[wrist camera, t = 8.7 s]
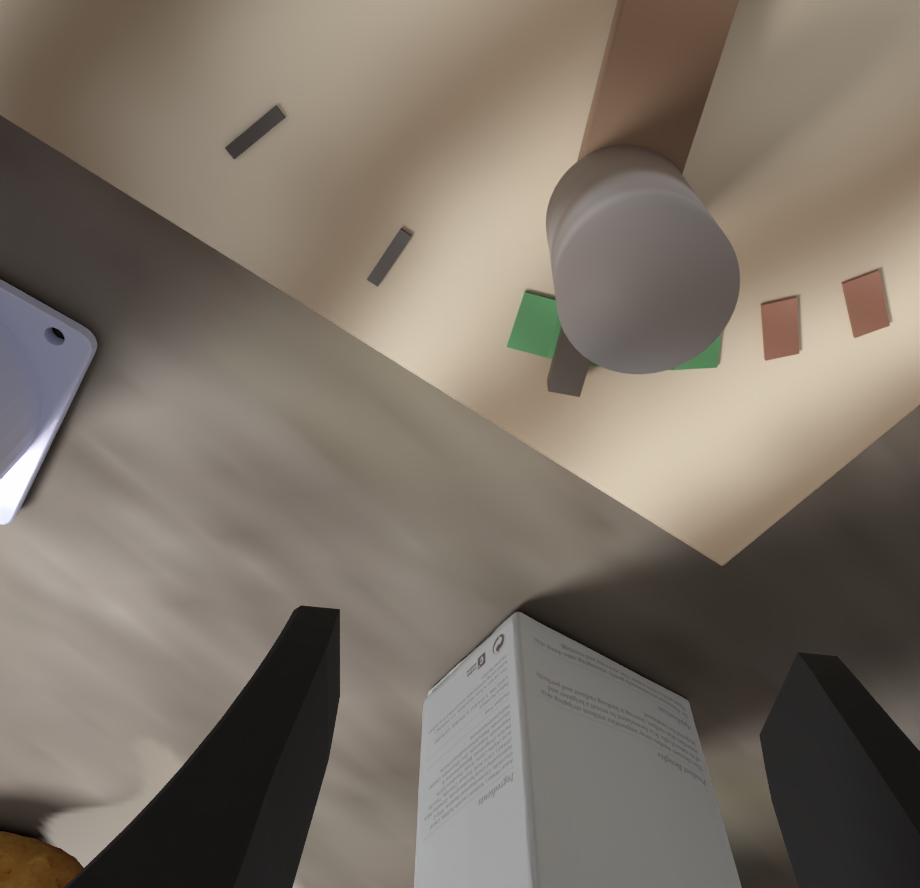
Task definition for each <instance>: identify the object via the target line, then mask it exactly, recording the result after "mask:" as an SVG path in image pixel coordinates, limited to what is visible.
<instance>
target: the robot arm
mask: <svg viewBox="0 0 920 888" xmlns="http://www.w3.org/2000/svg"><path fill="white" fill-rule="evenodd" d="M52 327H53V328H56V329H58V330H60V331H61V332H62V333H63V335H64V337H65V339H62V338H58V337H57V336H56V335H55V334H54V333H53V331H52ZM96 350H97V341H96V338H95V336H94V335H93V334H92V332H91V331H89V330H88V329H87V328H86V327H84V326H82V325H80V324H79V323H77V322H75V321H73V320H72V319H70V318H68V317H66V316H65V315H63V314H61V313H59V312H58V311H56V310H54V309H52V308H50V307H49V306H47V305H45V304H43V303H42V302H40V301H38V300H36V299H35V298H33V297H31V296H29V295H27V294H26V293H24V292H22V291H20V290H19V289H17V288H15V287H13V286H12V285H10V284H8V283H6V282H4V281H3V280H1V279H0V524H8V523H10V522H11V521H12V520H13V519H14V518H15V517H16V516H17V514H18V513H19V511H20V509H21V507H22V504H23V502H24V500H25V498H26V496H27V494H28V492H29V490H30V488H31V486H32V484H33V482H34V479H35V477H36V475H37V473H38V471H39V469H40V467H41V465H42V463H43V461H44V459H45V457H46V455H47V452H48V450H49V448H50V446H51V444H52V442H53V440H54V438H55V436H56V434H57V432H58V430H59V427H60V425H61V423H62V421H63V419H64V417H65V415H66V413H67V411H68V409H69V407H70V405H71V402H72V400H73V398H74V396H75V394H76V392H77V390H78V388H79V386H80V384H81V382H82V380H83V377H84V375H85V373H86V371H87V369H88V367H89V365H90V363H91V361H92V359H93V357H94V355H95V352H96ZM339 698H340V609H331V608H321V607H310V606H300V607H298V608H297V609H295V610H294V611H293V613H292V615H291V616H290V618H289V620H288V622H287V624H286V625H285V627H284V629H283V630H282V632H281V634H280V635H279V637H278V639H277V640H276V642H275V643H274V645H273V646H272V648H271V650H270V651H269V653H268V654H267V656H266V657H265V659H264V660H263V662H262V663H261V665H260V666H259V667H258V669H257V670H256V672H255V673H254V675H253V676H252V678H251V679H250V680H249V682H248V683H247V685H246V686H245V687H244V689H243V690H242V691H241V693H240V694H239V695H238V697H237V698H236V699H235V701H234V702H233V704H232V705H231V706H230V708H229V709H228V710H227V712H226V713H225V714H224V716H223V717H222V718H221V720H220V721H219V722H218V723H217V725H216V726H215V727H214V728H213V730H212V731H211V732H210V733H209V734H208V736H207V737H206V738H205V739H204V741H203V742H202V743H201V744H200V745H199V747H198V748H197V749H196V750H195V751H194V753H193V754H192V755H191V756H190V758H189V759H188V760H187V761H186V762H185V764H184V765H183V766H182V767H181V768H180V769H179V771H178V772H177V773H176V774H175V775H174V776H173V778H172V779H171V780H170V781H169V782H168V783H167V784H166V785H165V786H164V788H163V789H162V790H161V791H160V792H159V793H158V794H157V795H156V796H155V798H154V799H153V800H152V801H151V802H150V803H149V804H148V805H147V806H146V807H145V808H144V809H143V810H142V811H141V812H140V813H139V814H138V815H137V817H136V818H135V819H134V820H133V821H132V822H131V823H130V824H129V825H128V826H127V827H126V828H125V829H124V830H123V831H122V832H121V833H120V834H119V835H118V836H117V837H116V838H115V839H114V840H113V841H112V842H111V843H110V844H109V845H108V846H107V847H106V848H105V849H104V850H102V851H101V852H100V853H99V854H98V855H97V856H96V857H95V858H94V859H93V860H92V861H91V862H90V863H89V864H88V865H87V866H86V867H85V868H84V869H83V870H82V871H81V872H80V873H79V874H77V875H76V876H75V877H74V878H73V879H72V880H71V881H70V882H69V883H68V884H67V885H66V886H64V887H63V888H292V887H293V883H294V880H295V876H296V873H297V869H298V866H299V862H300V859H301V855H302V852H303V848H304V845H305V841H306V838H307V834H308V831H309V827H310V824H311V820H312V817H313V813H314V810H315V806H316V802H317V799H318V795H319V792H320V788H321V785H322V781H323V778H324V774H325V770H326V767H327V763H328V760H329V754H330V749H331V743H332V738H333V732H334V727H335V721H336V715H337V709H338V703H339ZM760 740H761V746H762V752H763V758H764V763H765V769H766V774H767V779H768V784H769V789H770V794H771V799H772V803H773V806H774V809H775V813H776V816H777V819H778V822H779V826H780V829H781V832H782V835H783V838H784V842H785V845H786V848H787V851H788V854H789V857H790V861H791V864H792V867H793V870H794V873H795V876H796V879H797V882H798V885H799V888H920V751H919V750H918V749H917V748H916V747H915V745H914V744H913V743H912V742H911V741H910V740H909V739H908V737H907V736H906V735H905V734H904V733H903V732H902V731H901V729H900V728H899V727H898V726H897V725H896V724H895V722H894V721H893V720H892V719H891V718H890V717H889V716H888V714H887V713H886V712H885V711H884V710H883V709H882V707H881V706H880V705H879V704H878V703H877V702H876V700H875V699H874V698H873V697H872V696H871V695H870V693H869V692H868V691H867V690H866V689H865V688H864V686H863V685H862V684H861V683H860V682H859V681H858V680H857V678H856V677H855V676H854V675H853V674H852V673H851V672H850V670H849V669H848V668H847V667H846V666H845V665H844V664H843V662H842V661H841V660H840V659H839V658H838V657H837V656H828V655H818V654H807V653H798V654H797V656H796V658H795V660H794V663H793V665H792V667H791V669H790V671H789V673H788V675H787V678H786V680H785V682H784V684H783V686H782V688H781V690H780V693H779V695H778V697H777V699H776V701H775V703H774V705H773V707H772V710H771V712H770V714H769V716H768V718H767V720H766V722H765V725H764V727H763V729H762V731H761V733H760Z"/></svg>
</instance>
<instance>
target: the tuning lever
mask: <svg viewBox="0 0 920 888" xmlns="http://www.w3.org/2000/svg"><path fill="white" fill-rule="evenodd" d="M738 2H739V0H617V4H616V8H615V12H614V16H613V20H612V24H611V28H610V32H609V36H608V40H607V44H606V48H605V52H604V56H603V60H602V64H601V68H600V72H599V76H598V80H597V84H596V88H595V92H594V96H593V100H592V104H591V108H590V112H589V116H588V120H587V124H586V128H585V132H584V136H583V140H582V144H581V148H580V152H579V156H578V160H577V162H576V163H575V164H574V165H573V166H572V167H570V168H569V169H568V170H567V171H566V173H565V174H564V175H563V176H562V178H561V179H560V180H559V182H558V184H557V185H556V187H555V189H554V191H553V193H552V195H551V198H550V201H549V204H548V208H547V214H546V232H547V240H548V247H549V255H550V262H551V269H552V277H553V284H554V291H555V298H556V306H557V312H558V316H559V321H560V323H561V329H560V333H559V336H558V340H557V344H556V347H555V351H554V355H553V358H552V362H551V366H550V369H549V373H548V377H547V388H548V392H554V393H559V394H565V395H570V396H576V397H580V395H581V391H582V388H583V385H584V382H585V378H586V375H587V372H588V368H589V365H590V362H593V363H595V364H597V365H599V366H601V367H603V368H606V369H608V370H611V371H615V372H619V373H626V374H651V373H657V372H662V371H666V370H669V369H672V368H675V367H678V366H680V365H682V364H684V363H686V362H688V361H690V360H691V359H693V358H695V357H696V356H698V355H699V354H700V353H702V352H703V351H704V350H706V349H707V348H708V347H709V346H710V345H711V344H712V343H713V342H714V341H715V340H716V339H717V338H718V336H719V335H720V334H721V333H722V332H723V330H724V329H725V327H726V325H727V324H728V322H729V321H730V318H731V316H732V314H733V312H734V310H735V307H736V304H737V301H738V296H739V290H740V270H739V264H738V260H737V256H736V254H735V251H734V249H733V247H732V245H731V243H730V241H729V240H728V238H727V237H726V235H725V234H724V232H723V231H722V230H721V228H720V227H719V225H718V224H717V223H716V221H715V220H714V219H713V217H712V216H711V214H710V213H709V212H708V210H707V209H706V207H705V206H704V205H703V203H702V202H701V200H700V199H699V198H698V196H697V195H696V193H695V192H694V191H693V189H692V188H691V187H690V185H689V184H688V182H687V181H686V180H685V178H684V177H683V175H682V174H683V171H684V168H685V164H686V161H687V158H688V155H689V152H690V149H691V146H692V143H693V140H694V137H695V134H696V131H697V128H698V125H699V122H700V119H701V115H702V112H703V109H704V106H705V103H706V100H707V97H708V94H709V91H710V88H711V85H712V82H713V79H714V76H715V73H716V70H717V66H718V63H719V60H720V57H721V54H722V51H723V48H724V45H725V42H726V39H727V36H728V33H729V30H730V27H731V24H732V21H733V17H734V14H735V11H736V8H737V5H738Z"/></svg>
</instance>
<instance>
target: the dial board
mask: <svg viewBox="0 0 920 888" xmlns="http://www.w3.org/2000/svg"><path fill="white" fill-rule="evenodd" d="M616 4H617V0H0V115H1V116H3V117H4V118H6V119H7V120H9V121H11V122H12V123H14V124H15V125H17V126H19V127H20V128H22V129H23V130H25V131H27V132H28V133H30V134H31V135H33V136H35V137H36V138H38V139H39V140H41V141H43V142H44V143H46V144H47V145H49V146H51V147H52V148H54V149H55V150H57V151H59V152H60V153H62V154H63V155H65V156H67V157H68V158H70V159H71V160H73V161H75V162H76V163H78V164H79V165H81V166H83V167H84V168H86V169H87V170H89V171H91V172H92V173H94V174H95V175H97V176H99V177H100V178H102V179H103V180H105V181H107V182H108V183H110V184H111V185H113V186H115V187H116V188H118V189H119V190H121V191H123V192H124V193H126V194H127V195H129V196H131V197H132V198H134V199H135V200H137V201H139V202H140V203H142V204H143V205H145V206H147V207H148V208H150V209H151V210H153V211H155V212H156V213H158V214H159V215H161V216H163V217H164V218H166V219H167V220H169V221H171V222H172V223H174V224H175V225H177V226H179V227H180V228H182V229H183V230H185V231H187V232H188V233H190V234H191V235H193V236H195V237H196V238H198V239H199V240H201V241H203V242H204V243H206V244H207V245H209V246H211V247H212V248H214V249H215V250H217V251H219V252H220V253H222V254H223V255H225V256H227V257H228V258H230V259H231V260H233V261H235V262H236V263H238V264H239V265H241V266H243V267H244V268H246V269H247V270H249V271H251V272H252V273H254V274H255V275H257V276H259V277H260V278H262V279H263V280H265V281H267V282H268V283H270V284H271V285H273V286H275V287H276V288H278V289H279V290H281V291H283V292H284V293H286V294H287V295H289V296H291V297H292V298H294V299H295V300H297V301H299V302H300V303H302V304H303V305H305V306H307V307H308V308H310V309H311V310H313V311H315V312H316V313H318V314H319V315H321V316H323V317H324V318H326V319H327V320H329V321H331V322H332V323H334V324H335V325H337V326H339V327H340V328H342V329H343V330H345V331H347V332H348V333H350V334H351V335H353V336H355V337H356V338H358V339H359V340H361V341H363V342H364V343H366V344H367V345H369V346H371V347H372V348H374V349H375V350H377V351H379V352H380V353H382V354H383V355H385V356H387V357H388V358H390V359H391V360H393V361H395V362H396V363H398V364H399V365H401V366H403V367H404V368H406V369H407V370H409V371H411V372H412V373H414V374H415V375H417V376H419V377H420V378H422V379H423V380H425V381H427V382H428V383H430V384H431V385H433V386H435V387H436V388H438V389H439V390H441V391H443V392H444V393H446V394H447V395H449V396H451V397H452V398H454V399H455V400H457V401H459V402H460V403H462V404H463V405H465V406H467V407H468V408H470V409H472V410H473V411H475V412H476V413H478V414H480V415H481V416H483V417H484V418H486V419H488V420H489V421H491V422H492V423H494V424H496V425H497V426H499V427H500V428H502V429H504V430H505V431H507V432H508V433H510V434H512V435H513V436H515V437H516V438H518V439H520V440H521V441H523V442H524V443H526V444H528V445H529V446H531V447H532V448H534V449H536V450H537V451H539V452H540V453H542V454H544V455H545V456H547V457H548V458H550V459H552V460H553V461H555V462H556V463H558V464H560V465H561V466H563V467H564V468H566V469H568V470H569V471H571V472H572V473H574V474H576V475H577V476H579V477H580V478H582V479H584V480H585V481H587V482H588V483H590V484H592V485H593V486H595V487H596V488H598V489H600V490H601V491H603V492H604V493H606V494H608V495H609V496H611V497H612V498H614V499H616V500H617V501H619V502H620V503H622V504H624V505H625V506H627V507H628V508H630V509H632V510H633V511H635V512H636V513H638V514H640V515H641V516H643V517H644V518H646V519H648V520H649V521H651V522H652V523H654V524H656V525H657V526H659V527H660V528H662V529H664V530H665V531H667V532H668V533H670V534H672V535H673V536H675V537H676V538H678V539H680V540H681V541H683V542H684V543H686V544H688V545H689V546H691V547H692V548H694V549H696V550H697V551H699V552H700V553H702V554H704V555H705V556H707V557H708V558H710V559H712V560H713V561H715V562H716V563H718V564H720V565H721V566H723V565H724V564H726V563H727V562H728V561H729V560H731V559H732V558H733V557H734V556H735V555H737V554H738V553H739V552H740V551H741V550H743V549H744V548H745V547H746V546H748V545H749V544H750V543H751V542H752V541H754V540H755V539H756V538H757V537H759V536H760V535H761V534H762V533H763V532H765V531H766V530H767V529H768V528H770V527H771V526H772V525H773V524H774V523H776V522H777V521H778V520H779V519H780V518H782V517H783V516H784V515H785V514H787V513H788V512H789V511H790V510H791V509H793V508H794V507H795V506H796V505H798V504H799V503H800V502H801V501H802V500H804V499H805V498H806V497H807V496H808V495H810V494H811V493H812V492H813V491H815V490H816V489H817V488H818V487H819V486H821V485H822V484H823V483H824V482H826V481H827V480H828V479H829V478H830V477H832V476H833V475H834V474H835V473H837V472H838V471H839V470H840V469H841V468H843V467H844V466H845V465H846V464H847V463H849V462H850V461H851V460H852V459H854V458H855V457H856V456H857V455H858V454H860V453H861V452H862V451H863V450H865V449H866V448H867V447H868V446H869V445H871V444H872V443H873V442H874V441H875V440H877V439H878V438H879V437H880V436H882V435H883V434H884V433H885V432H886V431H888V430H889V429H890V428H891V427H893V426H894V425H895V424H896V423H897V422H899V421H900V420H901V419H902V418H904V417H905V416H906V415H907V414H908V413H910V412H911V411H912V410H913V409H914V408H916V407H917V406H918V405H919V404H920V0H739V2H738V5H737V8H736V11H735V14H734V17H733V21H732V24H731V27H730V30H729V33H728V36H727V39H726V42H725V45H724V48H723V51H722V54H721V57H720V60H719V63H718V66H717V70H716V73H715V76H714V79H713V82H712V85H711V88H710V91H709V94H708V97H707V100H706V103H705V106H704V109H703V112H702V115H701V119H700V122H699V125H698V128H697V131H696V134H695V137H694V140H693V143H692V146H691V149H690V152H689V155H688V158H687V161H686V164H685V168H684V171H683V174H682V175H683V177H684V178H685V180H686V181H687V182H688V184H689V185H690V187H691V188H692V189H693V191H694V192H695V193H696V195H697V196H698V198H699V199H700V200H701V202H702V203H703V205H704V206H705V207H706V209H707V210H708V212H709V213H710V214H711V216H712V217H713V219H714V220H715V221H716V223H717V224H718V225H719V227H720V228H721V230H722V231H723V232H724V234H725V235H726V237H727V238H728V240H729V241H730V243H731V245H732V247H733V249H734V251H735V254H736V256H737V260H738V264H739V270H740V290H739V296H738V301H737V304H736V307H735V310H734V312H733V314H732V316H731V318H730V321H729V322H728V324H727V325H726V327H725V329H724V330H723V332H722V333H721V334H720V335H719V336H718V338H717V339H716V340H715V341H714V342H713V343H712V344H711V345H710V346H709V347H708V348H707V349H706V350H704V351H703V352H702V353H700V354H699V355H698V356H696V357H695V358H693V359H691V360H690V361H688V362H686V363H684V364H682V365H680V366H678V367H675V368H672V369H669V370H666V371H662V372H657V373H651V374H626V373H619V372H615V371H611V370H608V369H606V368H603V367H601V366H599V365H597V364H595V363H593V362H590V365H589V368H588V372H587V375H586V378H585V382H584V385H583V388H582V391H581V395H580V397H576V396H570V395H565V394H559V393H554V392H548V388H547V377H548V373H549V369H550V366H551V362H552V358H553V355H554V351H555V347H556V344H557V340H558V336H559V333H560V329H561V323H560V321H559V316H558V312H557V306H556V298H555V291H554V284H553V277H552V269H551V262H550V255H549V247H548V240H547V232H546V214H547V208H548V204H549V201H550V198H551V195H552V193H553V191H554V189H555V187H556V185H557V184H558V182H559V180H560V179H561V178H562V176H563V175H564V174H565V173H566V171H567V170H568V169H569V168H570V167H572V166H573V165H574V164H575V163H576V162H577V160H578V156H579V152H580V148H581V144H582V140H583V136H584V132H585V128H586V124H587V120H588V116H589V112H590V108H591V104H592V100H593V96H594V92H595V88H596V84H597V80H598V76H599V72H600V68H601V64H602V60H603V56H604V52H605V48H606V44H607V40H608V36H609V32H610V28H611V24H612V20H613V16H614V12H615V8H616Z"/></svg>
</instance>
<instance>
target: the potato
mask: <svg viewBox="0 0 920 888" xmlns="http://www.w3.org/2000/svg"><path fill="white" fill-rule="evenodd" d="M83 869H84V868H83V867H82V865H81V864H80V863H79V862H78V861H77V859H76V858H74V857H73V856H71V855H69V854H68V853H66V852H65V851H63V850H62V849H60V848H57V847H54V846H52V845H50V844H47V843H45V842H43V841H41V840H38V839H36V838H30V837H24V836H20V835H17V834H13V833H8V832H2V831H0V888H63V887H64V886H66V885H67V884H68V883H69V882H70V881H71V880H72V879H73V878H74V877H75V876H76V875H77V874H79V873H80V872H81V871H82V870H83Z"/></svg>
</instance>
